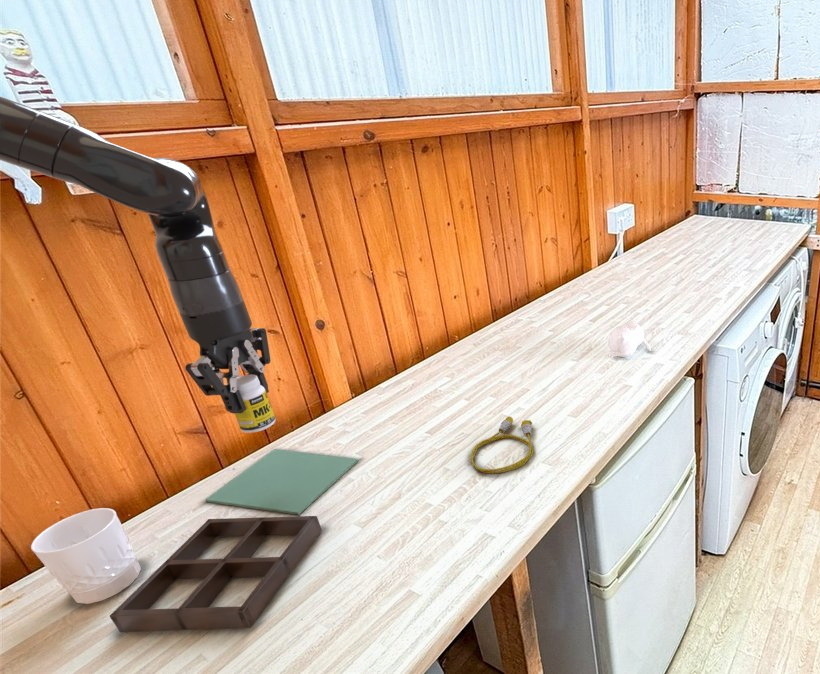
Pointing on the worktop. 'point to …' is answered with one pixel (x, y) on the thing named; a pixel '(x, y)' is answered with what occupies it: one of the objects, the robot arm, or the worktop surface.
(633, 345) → the cat figurine
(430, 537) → the worktop surface
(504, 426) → the extension cord
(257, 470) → the drying mat
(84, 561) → the white cup
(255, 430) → the supplement bottle
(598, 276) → the worktop surface
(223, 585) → the brown compartment tray
